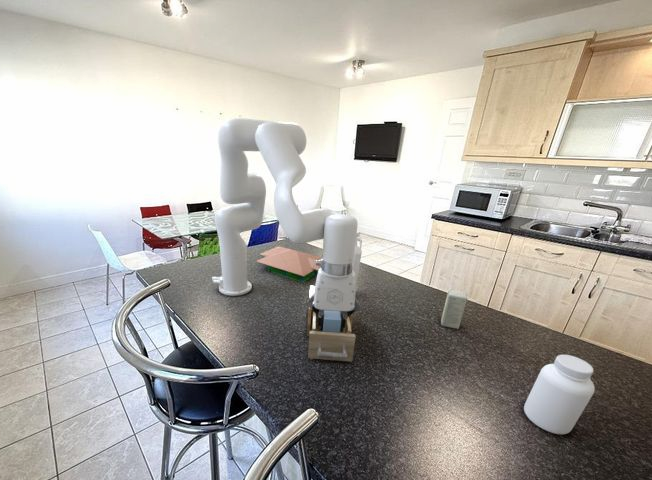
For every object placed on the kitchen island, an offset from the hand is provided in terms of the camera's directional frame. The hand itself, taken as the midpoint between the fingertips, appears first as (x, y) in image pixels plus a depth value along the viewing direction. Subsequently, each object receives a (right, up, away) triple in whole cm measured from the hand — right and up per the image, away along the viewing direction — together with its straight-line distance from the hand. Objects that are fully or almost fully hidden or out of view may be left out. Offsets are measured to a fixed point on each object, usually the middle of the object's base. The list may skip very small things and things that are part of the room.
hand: (331, 327), depth 79 cm
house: (-10, +18, +56) cm, 59 cm away
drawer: (0, -6, +1) cm, 6 cm away
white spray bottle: (+11, +6, +31) cm, 34 cm away
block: (0, 0, 0) cm, 0 cm away
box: (+40, -2, +15) cm, 43 cm away
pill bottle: (+43, -16, -17) cm, 49 cm away
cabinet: (+1, -1, +14) cm, 14 cm away
